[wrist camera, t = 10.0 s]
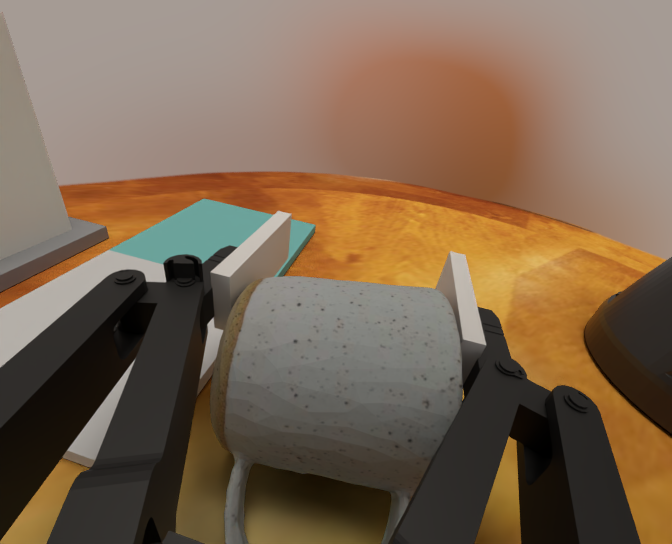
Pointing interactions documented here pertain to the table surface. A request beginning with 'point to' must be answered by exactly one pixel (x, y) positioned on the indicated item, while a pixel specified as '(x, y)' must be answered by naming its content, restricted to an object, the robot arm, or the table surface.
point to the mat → (148, 257)
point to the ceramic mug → (335, 385)
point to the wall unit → (30, 186)
